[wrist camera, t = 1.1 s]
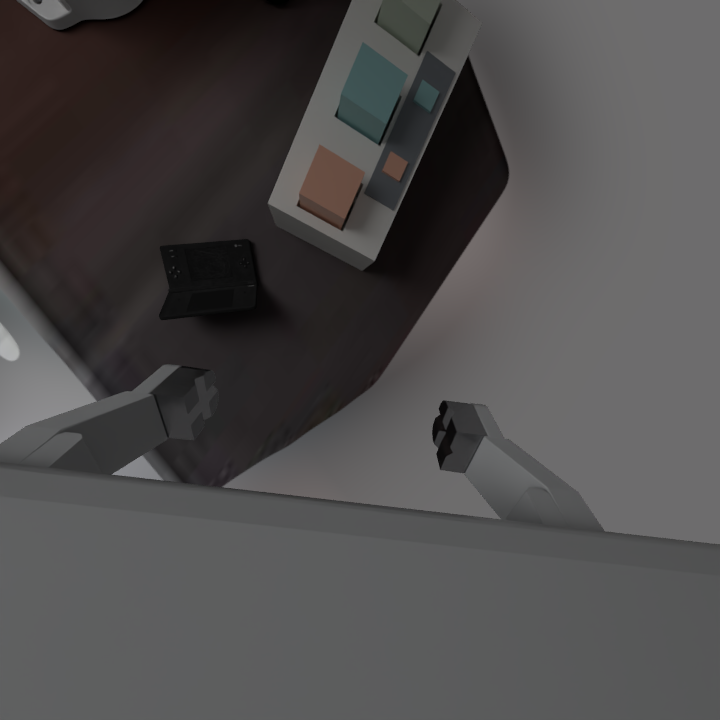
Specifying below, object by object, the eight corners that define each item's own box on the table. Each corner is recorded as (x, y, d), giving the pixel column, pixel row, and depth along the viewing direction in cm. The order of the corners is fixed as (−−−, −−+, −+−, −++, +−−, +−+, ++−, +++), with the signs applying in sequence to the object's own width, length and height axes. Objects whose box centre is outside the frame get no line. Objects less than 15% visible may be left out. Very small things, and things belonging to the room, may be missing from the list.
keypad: (276, 225, 38) (267, 201, 29) (363, 17, 35) (380, -72, 27) (362, 270, 41) (375, 260, 32) (447, 81, 38) (485, 18, 30)
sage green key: (374, 34, 30) (385, -12, 26) (394, -12, 30) (408, -67, 26) (413, 64, 31) (430, 24, 27) (432, 19, 31) (453, -28, 27)
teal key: (336, 124, 31) (340, 93, 27) (355, 80, 31) (362, 41, 26) (375, 149, 32) (386, 124, 28) (394, 107, 32) (407, 75, 27)
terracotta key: (300, 209, 32) (298, 193, 27) (318, 167, 31) (319, 144, 27) (340, 231, 33) (344, 219, 29) (357, 191, 33) (365, 172, 28)
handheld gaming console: (240, 220, 35) (232, 260, 29) (265, 269, 41) (263, 312, 34) (153, 245, 36) (127, 291, 29) (190, 290, 41) (175, 337, 35)
